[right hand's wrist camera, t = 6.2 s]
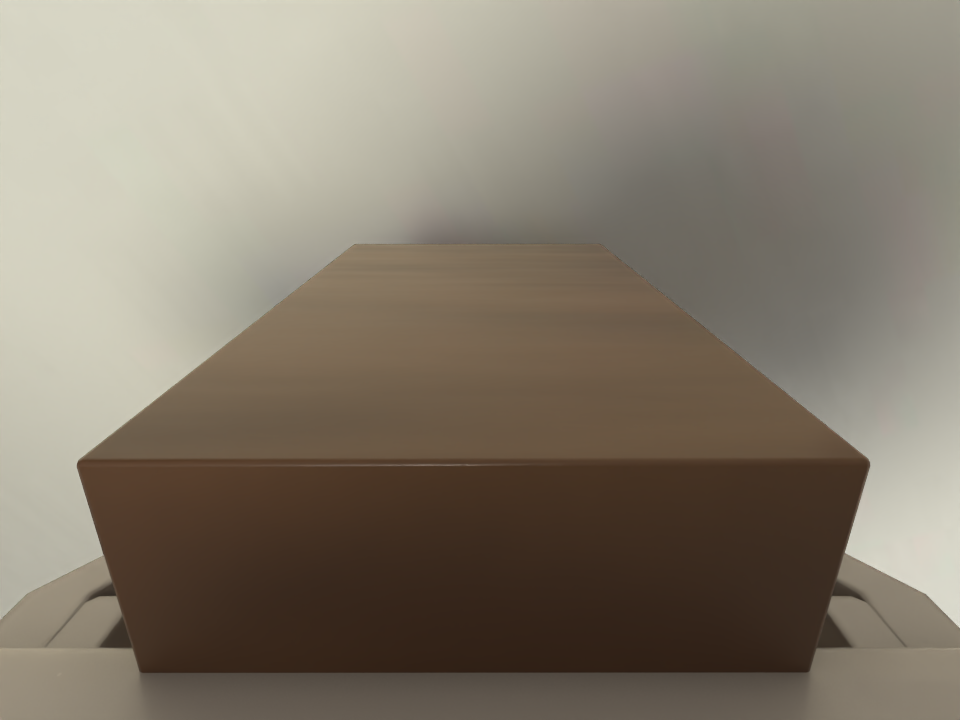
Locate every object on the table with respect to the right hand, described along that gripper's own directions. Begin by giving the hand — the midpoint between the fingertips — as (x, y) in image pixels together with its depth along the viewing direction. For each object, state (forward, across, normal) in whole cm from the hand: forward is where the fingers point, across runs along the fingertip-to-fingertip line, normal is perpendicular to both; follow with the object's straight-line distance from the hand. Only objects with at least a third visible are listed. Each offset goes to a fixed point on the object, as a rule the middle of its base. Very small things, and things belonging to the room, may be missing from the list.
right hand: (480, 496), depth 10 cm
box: (+5, 0, -9) cm, 10 cm away
